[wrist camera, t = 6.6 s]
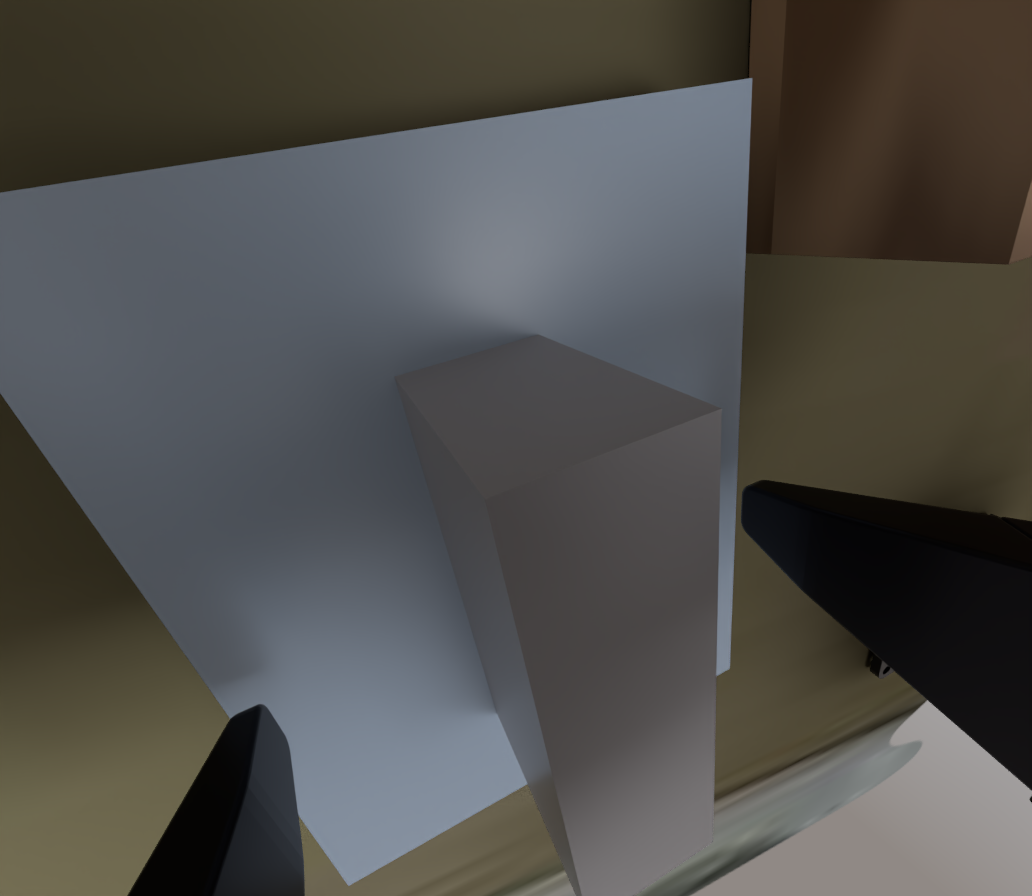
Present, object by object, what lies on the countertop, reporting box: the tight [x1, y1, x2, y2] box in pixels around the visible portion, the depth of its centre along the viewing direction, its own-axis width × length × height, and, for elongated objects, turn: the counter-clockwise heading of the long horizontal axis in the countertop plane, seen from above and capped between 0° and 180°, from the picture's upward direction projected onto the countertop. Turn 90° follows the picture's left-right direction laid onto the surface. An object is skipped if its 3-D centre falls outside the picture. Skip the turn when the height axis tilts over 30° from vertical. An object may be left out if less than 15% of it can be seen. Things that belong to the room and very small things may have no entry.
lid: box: [0, 78, 752, 896], centre depth 9 cm, size 14×11×6 cm
